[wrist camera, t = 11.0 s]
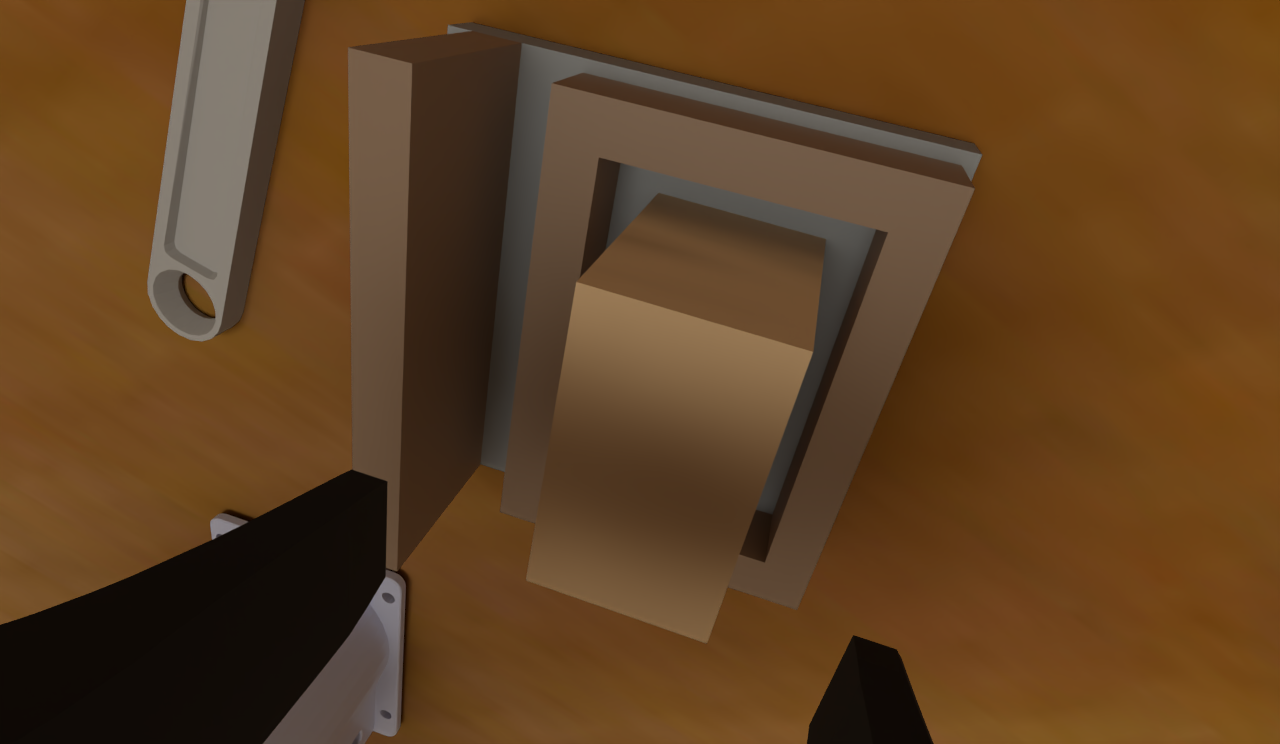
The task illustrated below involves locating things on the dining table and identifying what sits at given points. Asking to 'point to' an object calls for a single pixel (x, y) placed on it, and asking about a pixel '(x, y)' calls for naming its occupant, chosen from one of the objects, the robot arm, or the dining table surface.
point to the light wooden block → (673, 409)
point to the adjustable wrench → (220, 156)
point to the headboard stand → (579, 234)
